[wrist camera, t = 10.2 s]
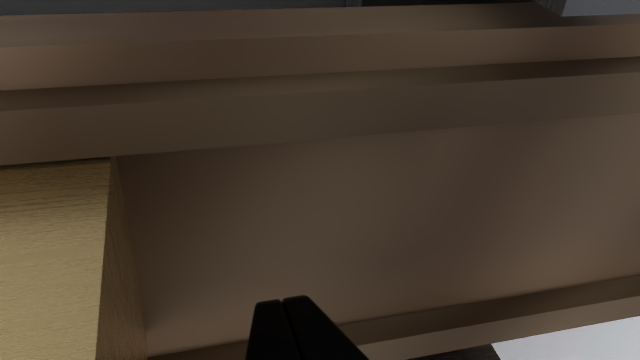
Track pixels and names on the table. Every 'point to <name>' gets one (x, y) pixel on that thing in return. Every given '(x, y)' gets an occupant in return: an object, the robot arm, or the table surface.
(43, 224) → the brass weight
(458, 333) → the balance beam
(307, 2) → the table surface
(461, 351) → the stand
